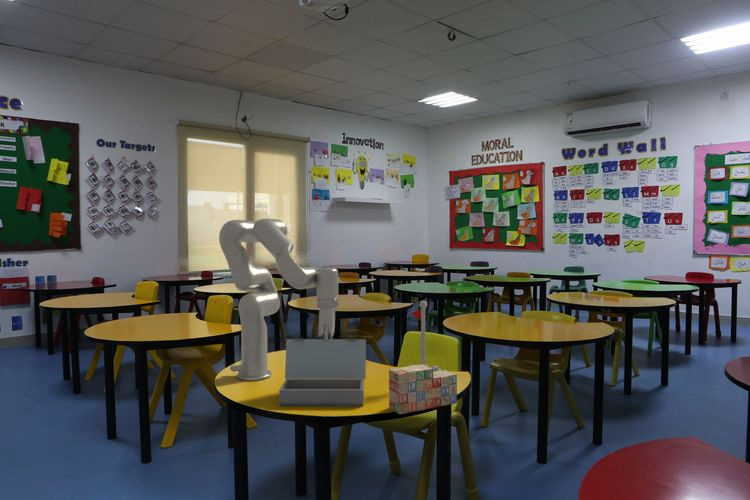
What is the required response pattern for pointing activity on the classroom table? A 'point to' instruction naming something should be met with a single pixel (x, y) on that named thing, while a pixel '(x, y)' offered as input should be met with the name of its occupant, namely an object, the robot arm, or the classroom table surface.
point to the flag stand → (423, 332)
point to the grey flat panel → (325, 359)
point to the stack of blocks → (420, 388)
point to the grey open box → (322, 392)
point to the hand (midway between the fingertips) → (327, 355)
